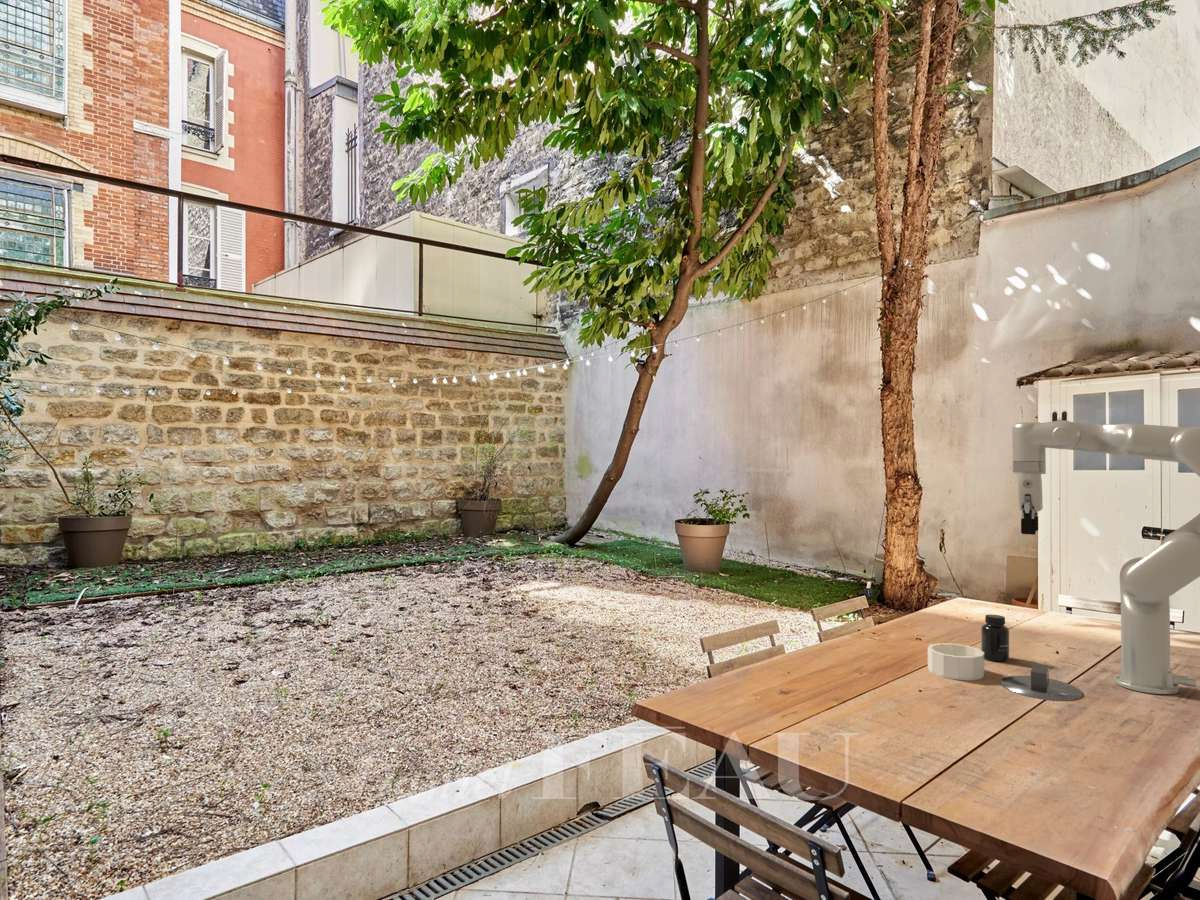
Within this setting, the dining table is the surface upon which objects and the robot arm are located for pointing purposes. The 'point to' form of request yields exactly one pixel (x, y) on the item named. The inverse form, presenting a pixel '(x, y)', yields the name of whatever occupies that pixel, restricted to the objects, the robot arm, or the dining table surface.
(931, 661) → the bowl
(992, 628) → the supplement bottle
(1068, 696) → the lid
